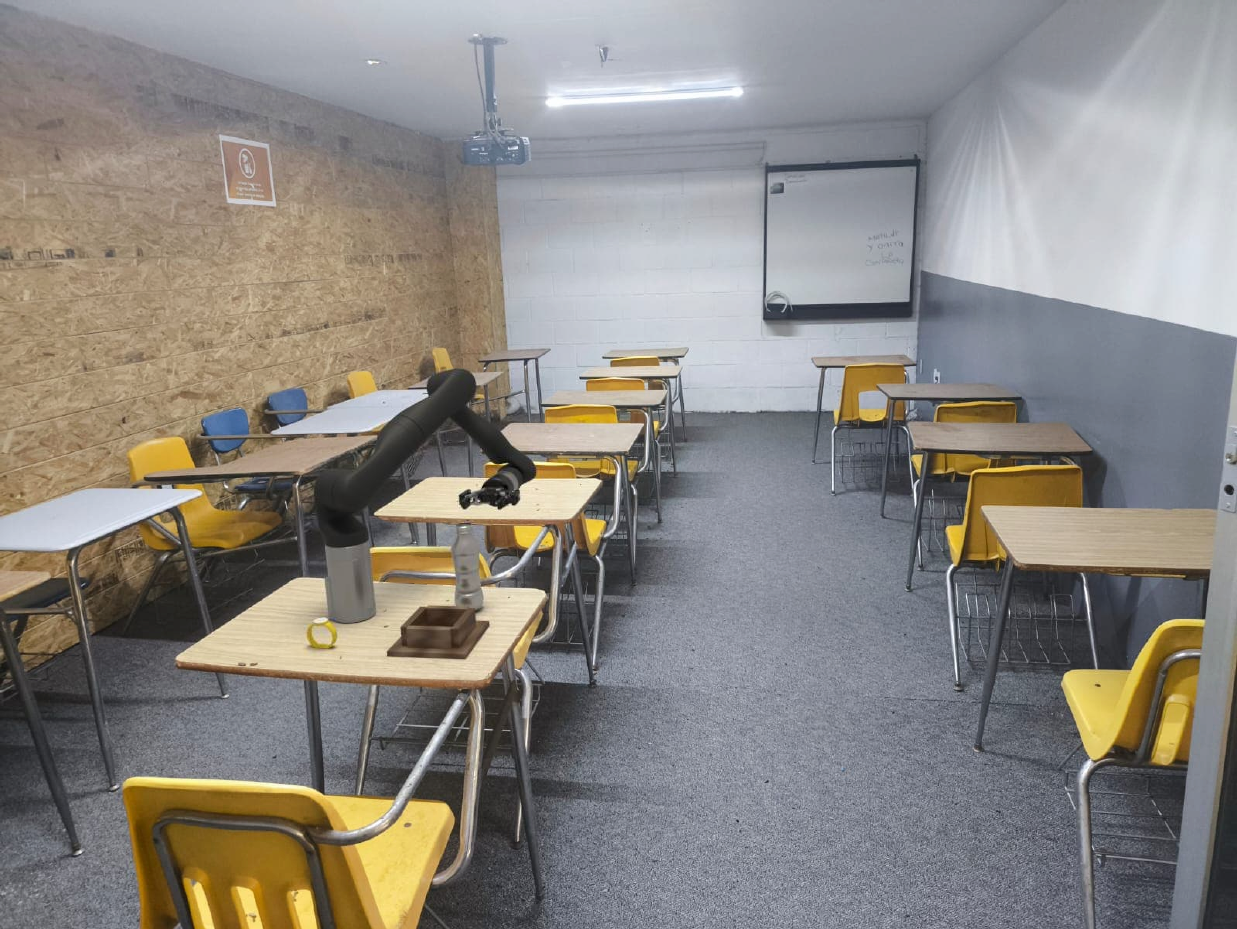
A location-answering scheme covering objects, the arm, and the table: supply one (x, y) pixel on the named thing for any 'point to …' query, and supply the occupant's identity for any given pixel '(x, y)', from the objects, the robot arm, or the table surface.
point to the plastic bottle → (467, 567)
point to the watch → (320, 623)
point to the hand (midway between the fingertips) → (481, 505)
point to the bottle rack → (439, 633)
